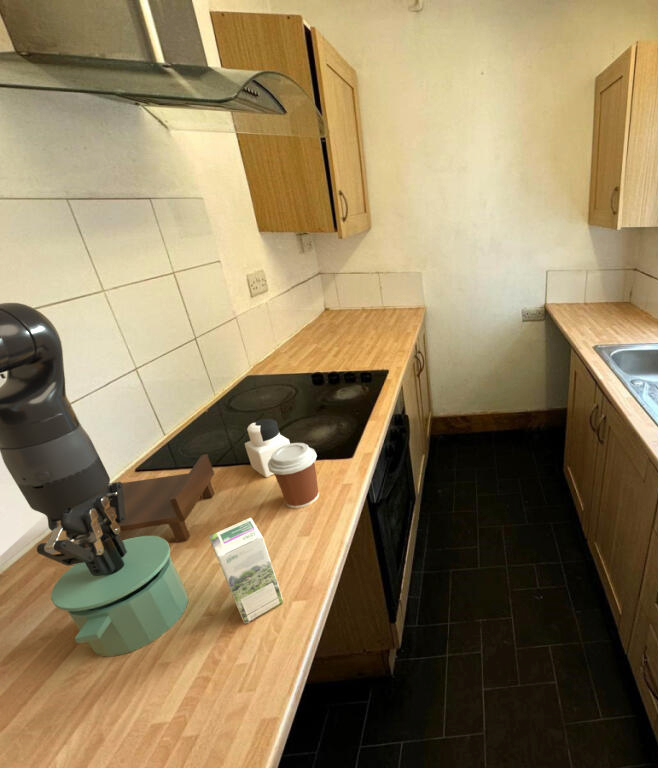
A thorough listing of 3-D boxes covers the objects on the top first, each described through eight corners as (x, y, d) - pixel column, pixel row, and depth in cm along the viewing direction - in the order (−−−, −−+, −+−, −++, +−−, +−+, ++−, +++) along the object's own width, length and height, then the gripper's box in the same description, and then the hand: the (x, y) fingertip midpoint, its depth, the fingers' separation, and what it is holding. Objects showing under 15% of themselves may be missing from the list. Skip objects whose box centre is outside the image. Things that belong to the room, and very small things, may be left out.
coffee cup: (302, 517, 85) (289, 468, 80) (269, 506, 88) (254, 459, 83) (334, 490, 92) (324, 444, 88) (302, 481, 95) (291, 436, 90)
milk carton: (273, 581, 70) (250, 514, 64) (285, 603, 66) (262, 534, 61) (235, 602, 67) (207, 533, 61) (245, 627, 63) (216, 556, 57)
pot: (58, 686, 55) (27, 644, 52) (128, 582, 70) (107, 545, 67) (159, 662, 58) (136, 621, 55) (206, 567, 73) (190, 530, 70)
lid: (28, 625, 53) (2, 588, 50) (91, 550, 65) (72, 517, 62) (146, 601, 56) (127, 565, 54) (186, 534, 68) (172, 501, 65)
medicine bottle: (281, 454, 106) (269, 413, 101) (295, 464, 102) (284, 421, 97) (251, 468, 100) (237, 425, 95) (266, 478, 96) (252, 434, 92)
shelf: (85, 560, 75) (60, 516, 71) (131, 506, 88) (112, 467, 84) (193, 540, 79) (175, 498, 75) (221, 491, 92) (207, 453, 88)
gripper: (59, 440, 58) (109, 535, 65) (-30, 505, 46) (44, 613, 53) (123, 433, 60) (165, 526, 67) (54, 493, 47) (114, 599, 54)
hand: (111, 564), depth 60 cm, fingers closed on lid, 2 cm apart
